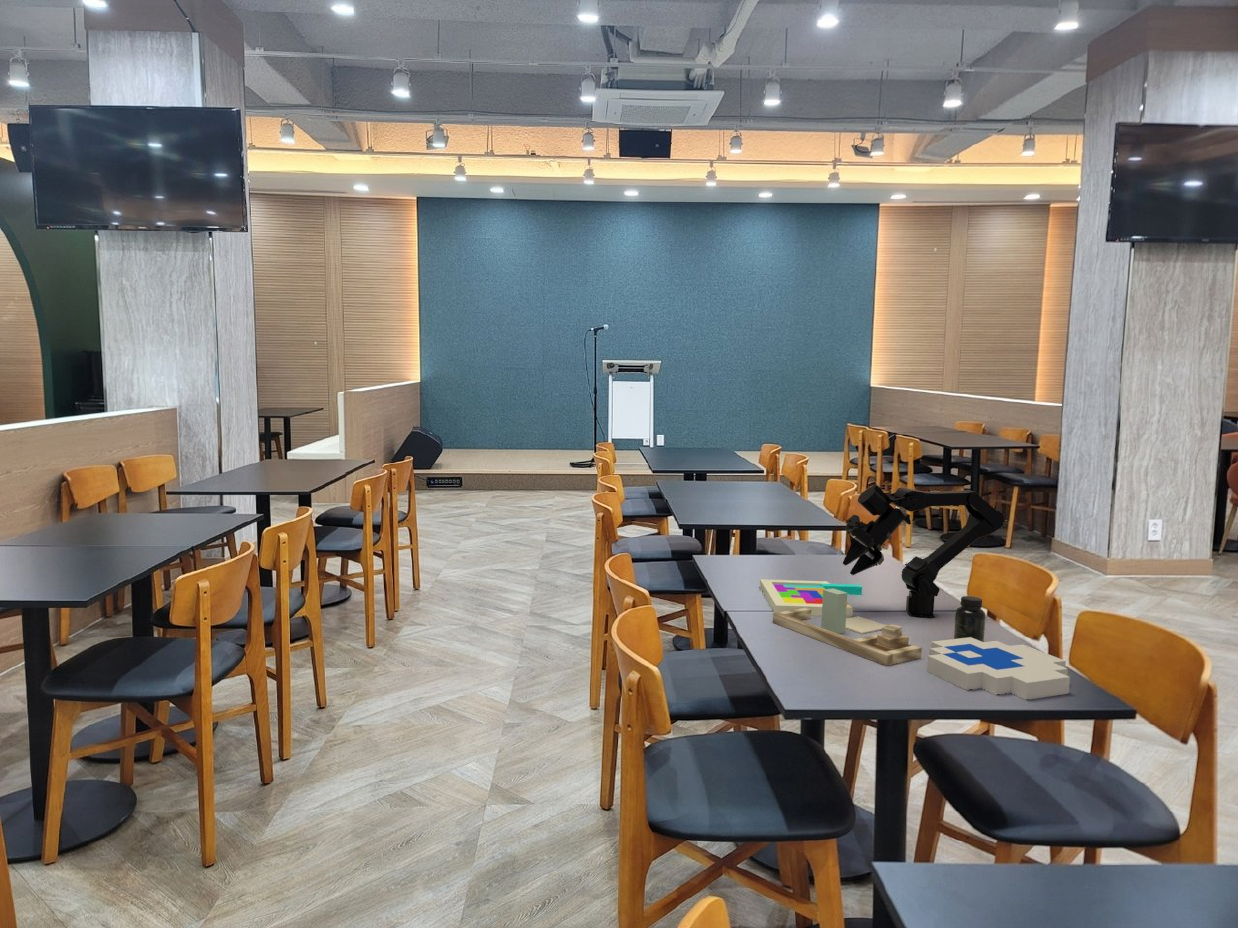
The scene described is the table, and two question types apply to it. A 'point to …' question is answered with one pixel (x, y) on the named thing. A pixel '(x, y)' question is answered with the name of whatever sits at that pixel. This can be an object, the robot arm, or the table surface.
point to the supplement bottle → (970, 619)
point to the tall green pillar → (834, 610)
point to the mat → (862, 625)
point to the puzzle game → (803, 594)
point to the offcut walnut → (888, 648)
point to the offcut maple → (892, 631)
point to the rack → (845, 639)
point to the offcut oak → (892, 641)
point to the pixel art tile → (998, 668)
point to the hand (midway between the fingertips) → (847, 569)
